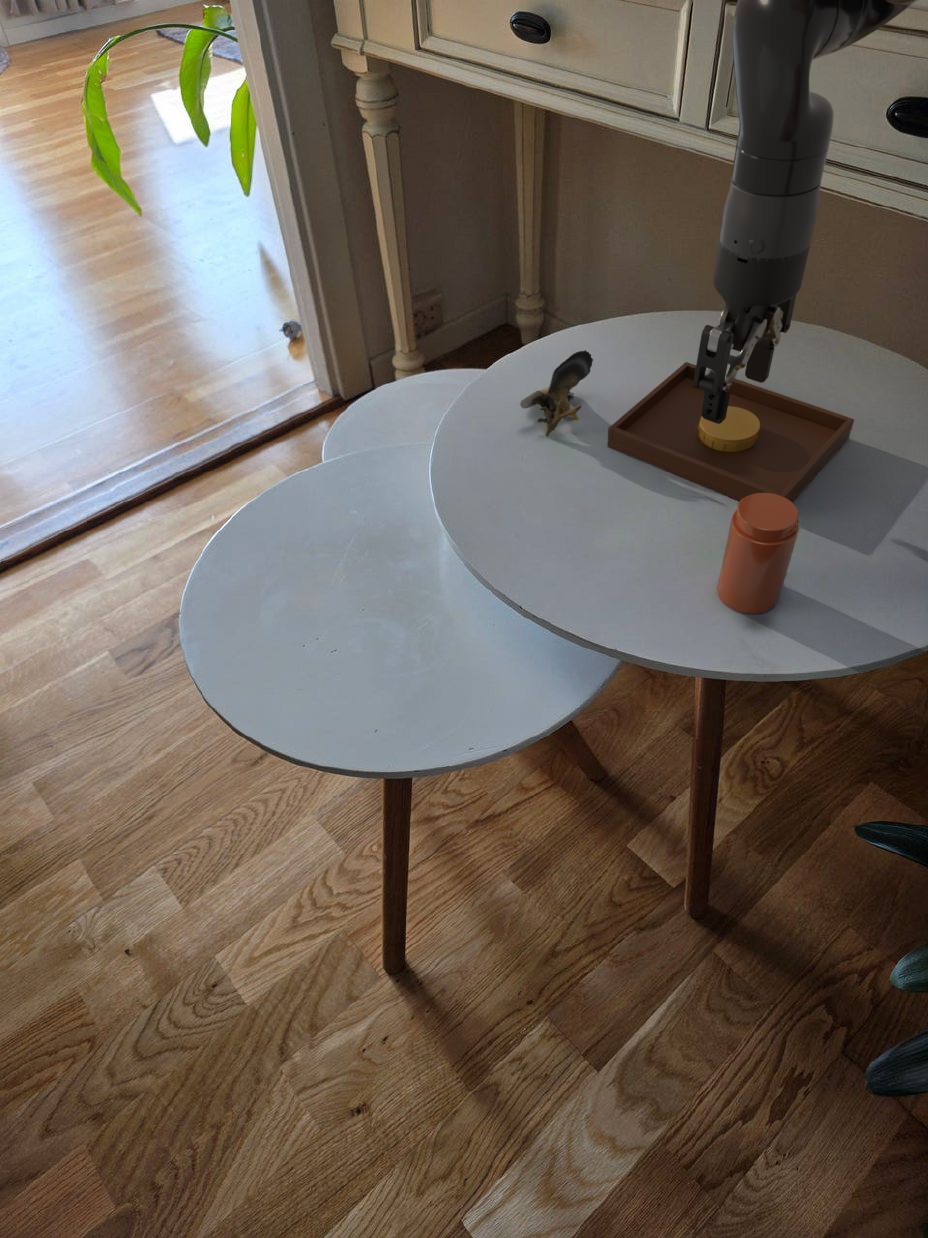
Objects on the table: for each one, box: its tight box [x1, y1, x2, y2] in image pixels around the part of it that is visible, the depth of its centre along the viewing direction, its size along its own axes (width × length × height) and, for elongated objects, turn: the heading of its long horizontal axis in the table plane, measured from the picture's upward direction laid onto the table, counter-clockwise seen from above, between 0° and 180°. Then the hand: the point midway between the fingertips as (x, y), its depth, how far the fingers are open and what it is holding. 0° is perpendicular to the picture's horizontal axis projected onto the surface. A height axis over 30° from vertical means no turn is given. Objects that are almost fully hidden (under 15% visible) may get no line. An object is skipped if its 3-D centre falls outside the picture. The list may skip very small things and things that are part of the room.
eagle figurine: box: [519, 350, 594, 437], centre depth 93 cm, size 8×7×9 cm
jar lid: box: [698, 406, 760, 452], centre depth 89 cm, size 6×6×2 cm
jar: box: [716, 493, 800, 615], centre depth 72 cm, size 5×5×9 cm
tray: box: [606, 361, 855, 503], centre depth 89 cm, size 19×15×2 cm
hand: (734, 398), depth 86 cm, fingers open, 8 cm apart
